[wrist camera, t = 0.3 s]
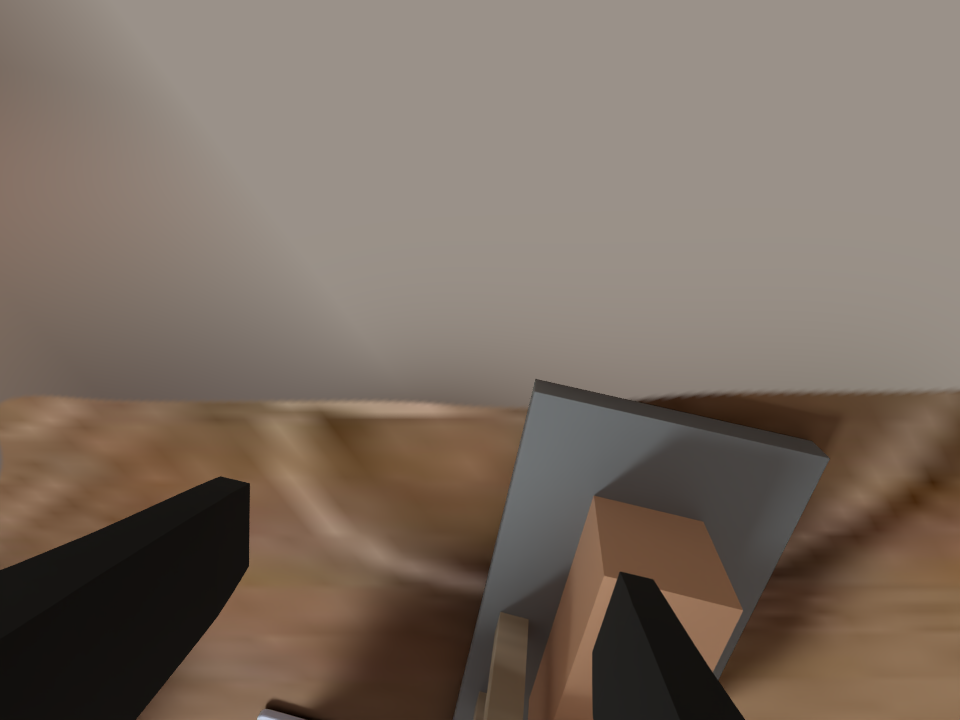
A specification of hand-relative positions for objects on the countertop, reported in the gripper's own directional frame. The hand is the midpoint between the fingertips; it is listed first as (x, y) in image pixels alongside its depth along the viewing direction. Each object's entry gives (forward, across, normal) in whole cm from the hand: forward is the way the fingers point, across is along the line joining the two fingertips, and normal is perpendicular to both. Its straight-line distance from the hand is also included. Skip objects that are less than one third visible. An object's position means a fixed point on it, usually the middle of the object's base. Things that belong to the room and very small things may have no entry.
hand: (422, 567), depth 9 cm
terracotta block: (+8, -7, +8) cm, 14 cm away
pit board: (+10, -7, +10) cm, 15 cm away
